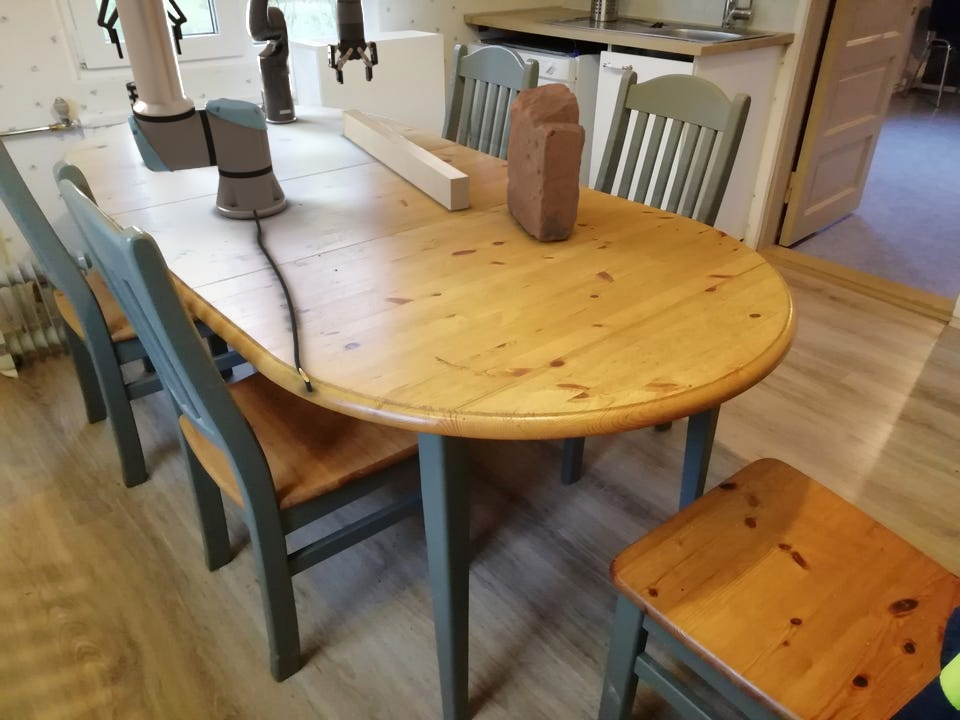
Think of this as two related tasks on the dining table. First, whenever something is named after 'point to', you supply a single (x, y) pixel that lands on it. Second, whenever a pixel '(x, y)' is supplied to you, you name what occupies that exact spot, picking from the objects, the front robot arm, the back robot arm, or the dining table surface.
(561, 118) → the stone
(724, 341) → the dining table surface
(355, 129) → the bar
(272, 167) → the front robot arm
